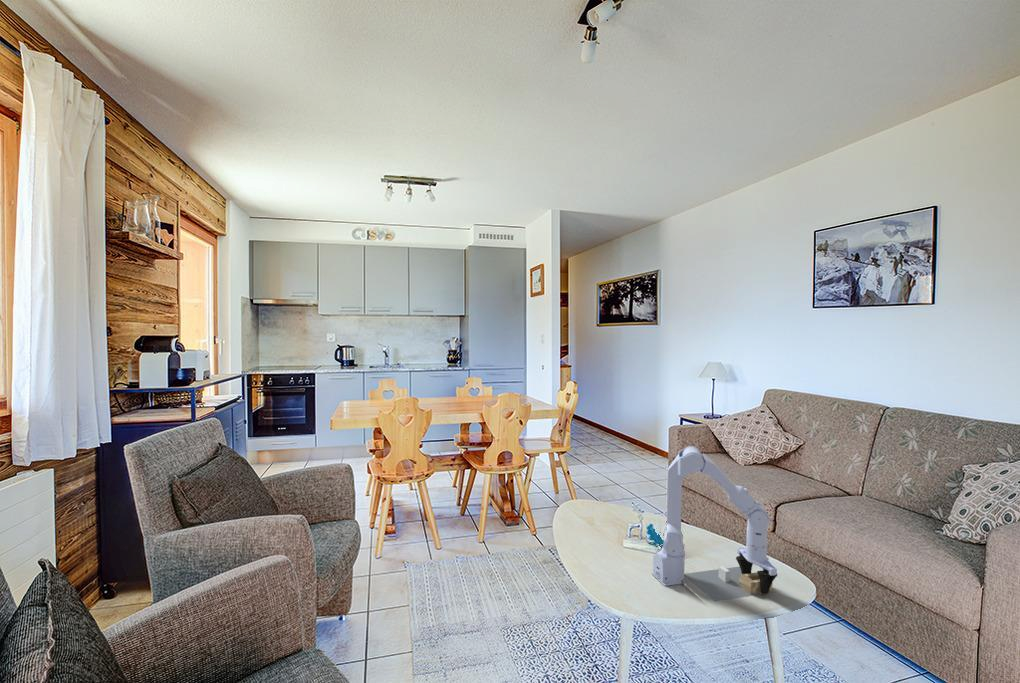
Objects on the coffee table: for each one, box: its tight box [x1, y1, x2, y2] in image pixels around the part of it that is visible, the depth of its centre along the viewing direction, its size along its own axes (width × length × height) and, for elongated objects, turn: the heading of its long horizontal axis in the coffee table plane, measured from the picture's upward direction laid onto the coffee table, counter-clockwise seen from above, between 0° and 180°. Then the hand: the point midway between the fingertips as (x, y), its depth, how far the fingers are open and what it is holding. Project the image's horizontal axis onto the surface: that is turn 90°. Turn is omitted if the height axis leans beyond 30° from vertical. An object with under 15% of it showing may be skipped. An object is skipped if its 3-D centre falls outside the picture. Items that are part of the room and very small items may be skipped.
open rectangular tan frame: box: [739, 572, 773, 595], centre depth 149 cm, size 8×5×4 cm, turn 104°
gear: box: [646, 523, 664, 547], centre depth 180 cm, size 11×6×10 cm
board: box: [684, 565, 777, 602], centre depth 152 cm, size 22×16×4 cm
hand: (755, 586), depth 149 cm, fingers open, 7 cm apart
